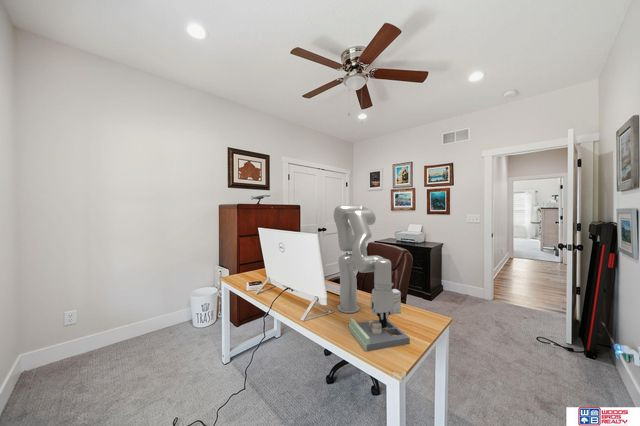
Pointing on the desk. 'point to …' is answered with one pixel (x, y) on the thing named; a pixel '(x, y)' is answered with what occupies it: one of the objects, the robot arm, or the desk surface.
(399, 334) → the trap deck
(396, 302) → the ink box
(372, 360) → the desk surface
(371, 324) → the cream block
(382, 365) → the desk surface
